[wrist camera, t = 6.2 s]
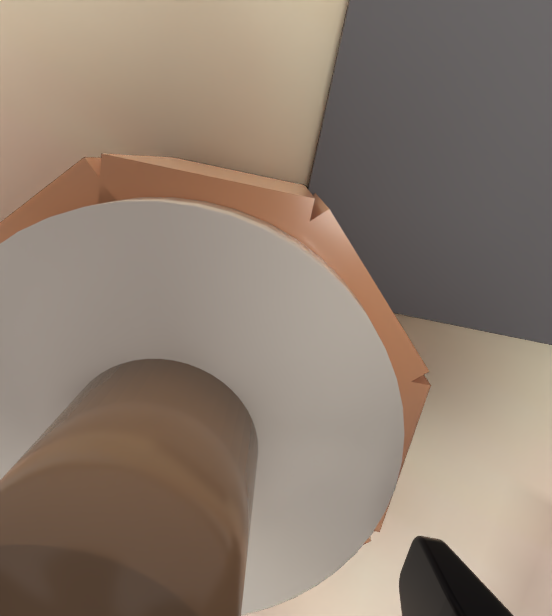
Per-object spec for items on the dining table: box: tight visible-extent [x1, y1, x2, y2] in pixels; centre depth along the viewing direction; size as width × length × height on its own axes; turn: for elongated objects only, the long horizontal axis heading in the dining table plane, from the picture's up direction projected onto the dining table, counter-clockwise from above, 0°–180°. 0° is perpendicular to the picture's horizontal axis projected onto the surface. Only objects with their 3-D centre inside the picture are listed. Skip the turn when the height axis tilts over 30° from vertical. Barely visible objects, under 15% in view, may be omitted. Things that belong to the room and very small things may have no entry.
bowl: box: [0, 153, 431, 545], centre depth 12 cm, size 10×10×5 cm
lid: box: [0, 197, 404, 616], centre depth 7 cm, size 9×9×5 cm
